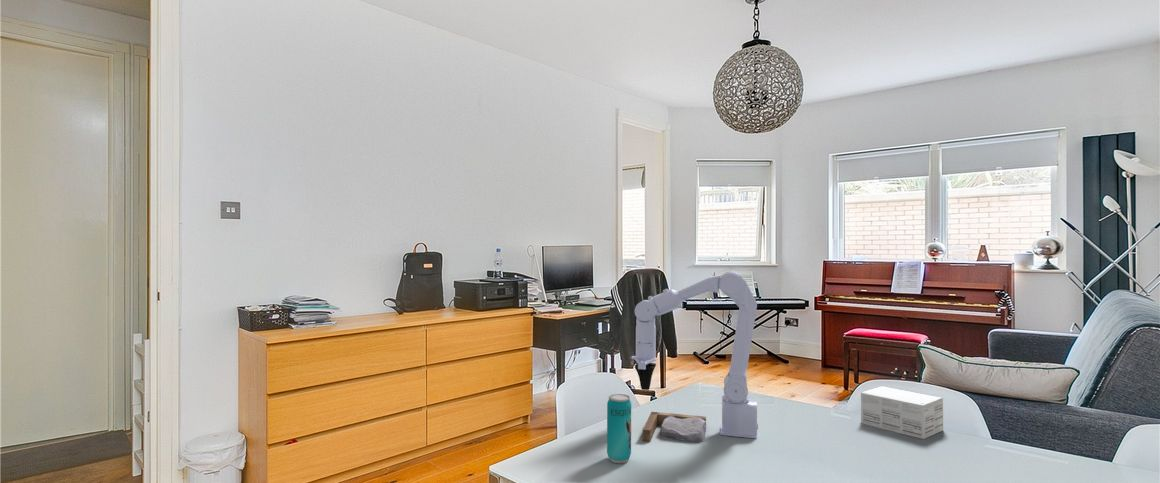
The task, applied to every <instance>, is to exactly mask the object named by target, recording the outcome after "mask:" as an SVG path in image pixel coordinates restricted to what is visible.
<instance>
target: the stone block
mask: <svg viewBox="0 0 1160 483" xmlns="http://www.w3.org/2000/svg"><path fill="white" fill-rule="evenodd" d="M706 432H707V421H706V422H705V421H704V420H703V419H701V418H686V419H679V418H675V417H673V416H669V417H667V418H666V419H664V421H663V424H662V425H661V427H660V434H661V436H663V437H668V438H672V439H677V440H681V441H685V442H691V443H692V442H694V443H695V442H699V443H700V442H704V441H705V440H706Z"/></svg>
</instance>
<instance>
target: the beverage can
mask: <svg viewBox="0 0 1160 483" xmlns="http://www.w3.org/2000/svg"><path fill="white" fill-rule="evenodd" d="M630 399H631V396H630V395H627V394H622V393H614V394H610V395H608V400H607V404H606V413H607V414H606V416H607V417H606V419H607V420H606V421H607V422H606V439H607V440H606V454H607V456H608V459H609V460H610V462H611V463H615V464H624V463H627V462H628V461H629V460H630V458H631V454H632V401H631V400H630Z"/></svg>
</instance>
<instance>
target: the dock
mask: <svg viewBox="0 0 1160 483" xmlns="http://www.w3.org/2000/svg"><path fill="white" fill-rule="evenodd" d="M669 416H673V417H675V418H679V419H686V418H701V419H703V420H704V421H705V422H706V423H707V416H705V415H704V416H702V415H694V414H693V415H690V414H682V413H669V412H660V411H659V412H657V411H650V414H649V416H648V418H647V420H646V422H645V424H644V426H643V429H642V441H643V442H647V443H648V442H651V441H652V438H653V436H654V434H655V432H656V430H657V427H658V426H662V424H663V421H664V419H666V418H667V417H669Z"/></svg>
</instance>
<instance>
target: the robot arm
mask: <svg viewBox="0 0 1160 483" xmlns="http://www.w3.org/2000/svg"><path fill="white" fill-rule="evenodd" d="M720 291H721V292H722V293H723V295H725V296H726V297H728V298H730V299H731V300H732V301H733V303H734V304H735V305H736V306H737V307H738V308H739V309H738V315H737V319H736V320H737V321H736V326H735V334H734V341H733V346H732V353H731V357H730V358H731V359H730V360H731V361H730V364H729V370H728V373H727V374H726V376H725V377H724V381H723V385H724V386H723V393H724V395H723V396H722V397H721V424H720V436H727V437H737V438H738V437H739V438H748V439H757V438H758V430H759V423H758V405H757V404H758V403H757V402H758V401H754V400H750V398H749V396H748V395H749V389H748V382H747V377H748V368H749V360H750V353H751V348H752V340H753V335H754V334H753V333H754V328H755V321H756V314H757V308H758V303H757V301H756V298H755V296H754V294H753V293H752V291H751V289H750V287H749V284H748V283H747V281H746V279H744V277H742V276H741V275H740V274H739V273H738V272H736V271H726V272H725V273H722V274H716V275H713V276H709V277H707V278H704V279H702V280H700V281H697V282H696V283H694V284H693V283H692V284H691V285H689V286H687V287H685V288H682V289H680V290H675V289H672V288H670V289H668V288H665V289H663V290H662V292H661V293H659V294H656V295H654V296H652V295H649V296H648V297H647V299H644V300H642V301H639V302H638V303H637V304H636V305H635V307H634V316H635V317H636V320H635V323H636V324H635V325H636V326H635V355H632V356H631V360H635V362H636V364H634V368H635V371H636V373H637V376H638V378H639V384H640V388H641V390H644V391H650V388H651V385H652V384H651V383H652V378H653V374H654V371H655V368H656V366H657V363H655V362H656V361H657V357H656V356H657V355H656V352H657V350H656V348H657V345H656V344H657V343H656V341H657V340H656V338H657V336H656V335H657V333H656V332H657V327H656V316H661V315H664V314H667V313H670V312H672V311H674V310H677V309H680V308H681V306H682V303H683V302H684V301H686V300H689V299H692V298H694V297H697V296H700V295H702V294H705V293H708V292H709V293H710V292H711V293H716V294H717V293H720Z"/></svg>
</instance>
